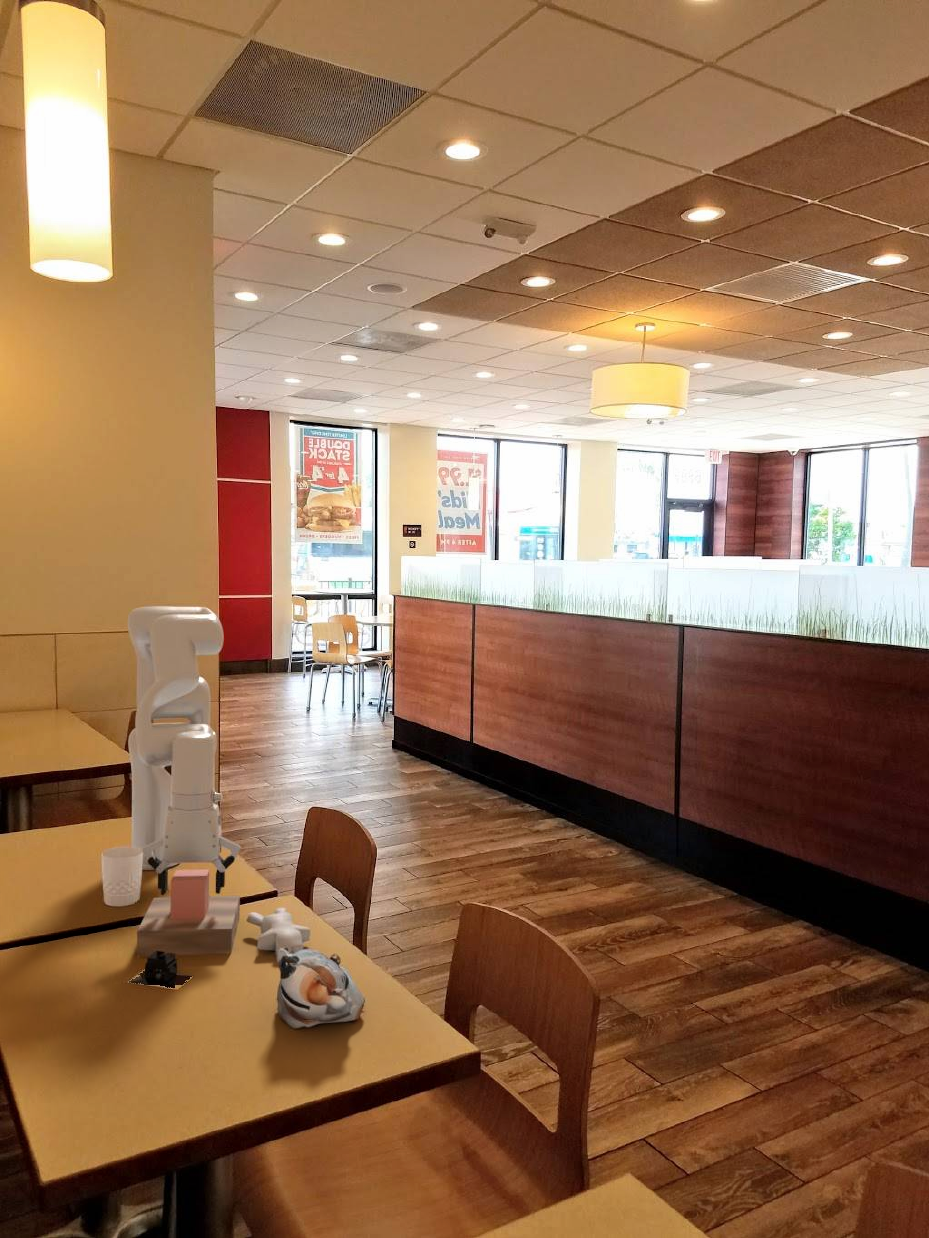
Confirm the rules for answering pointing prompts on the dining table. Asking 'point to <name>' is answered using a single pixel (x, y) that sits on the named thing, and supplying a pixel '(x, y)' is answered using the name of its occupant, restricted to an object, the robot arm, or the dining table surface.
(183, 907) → the red block
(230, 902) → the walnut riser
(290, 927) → the bunny figurine
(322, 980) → the lucky cat figurine
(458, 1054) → the dining table surface
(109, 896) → the white cup
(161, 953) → the black boxy gadget
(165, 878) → the robot arm
